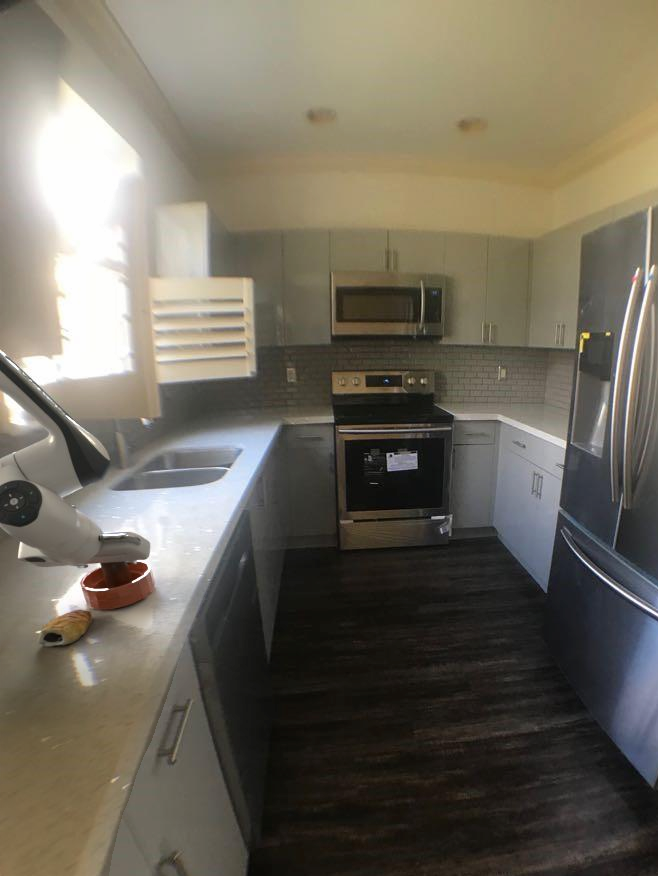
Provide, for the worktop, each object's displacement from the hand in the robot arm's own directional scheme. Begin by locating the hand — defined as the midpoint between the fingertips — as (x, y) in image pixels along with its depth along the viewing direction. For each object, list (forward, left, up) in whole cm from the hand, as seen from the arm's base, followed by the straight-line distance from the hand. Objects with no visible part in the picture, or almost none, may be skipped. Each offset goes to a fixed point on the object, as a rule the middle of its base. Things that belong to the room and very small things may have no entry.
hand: (109, 562), depth 94 cm
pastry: (-7, -11, -8) cm, 16 cm away
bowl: (0, +1, -8) cm, 8 cm away
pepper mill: (+1, +1, -8) cm, 8 cm away
